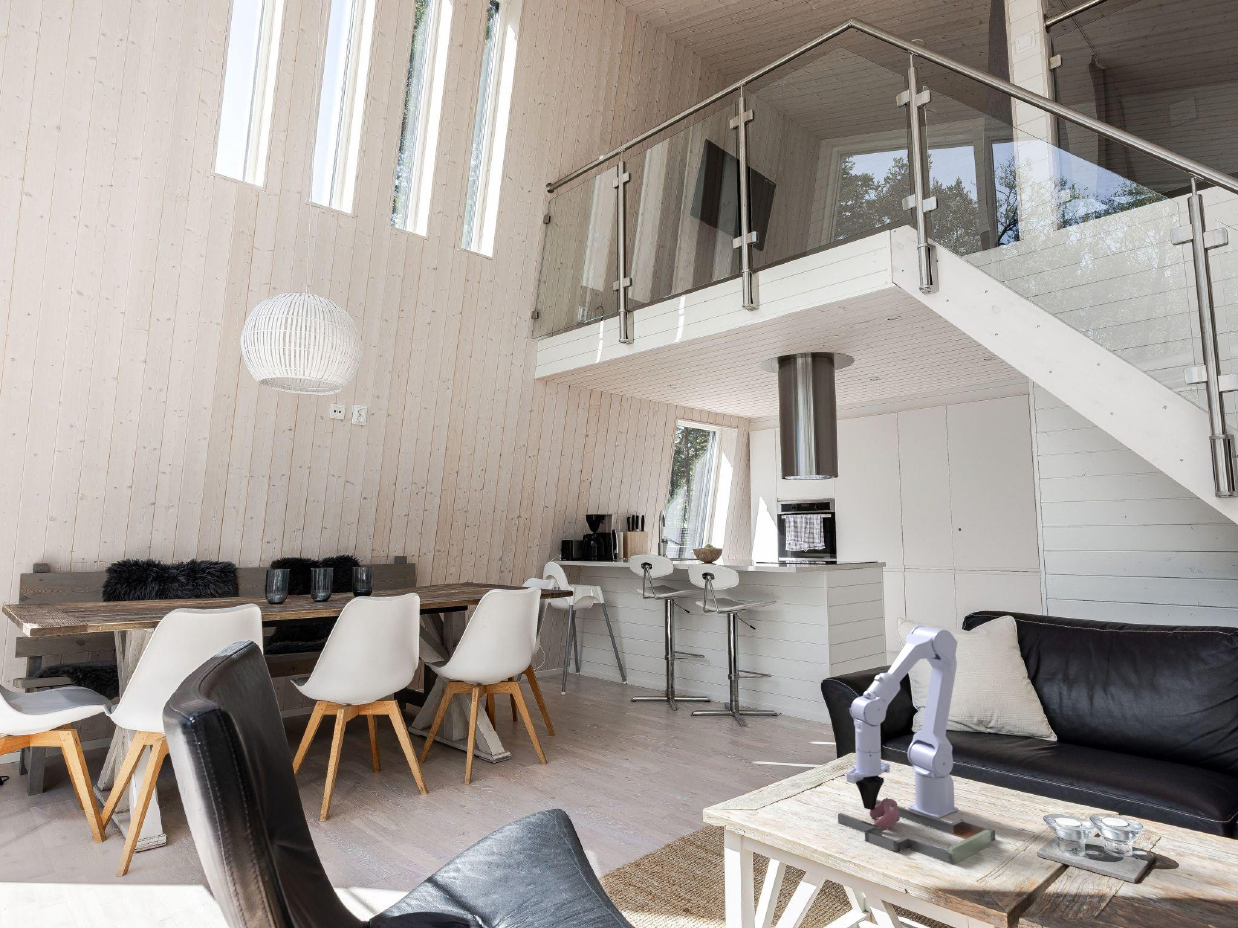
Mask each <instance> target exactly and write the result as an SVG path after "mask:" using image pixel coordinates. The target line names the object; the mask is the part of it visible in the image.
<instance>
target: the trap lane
mask: <svg viewBox="0 0 1238 928" xmlns="http://www.w3.org/2000/svg"><path fill="white" fill-rule="evenodd" d="M881 801H882V800H880V799H877V801H876V805H878V804H879V803H880V802H881ZM876 805H875V806H876ZM898 811H899V816H898V817H900V818H901V817H902V819H904V818H906V819H905V820H908V821H910V820H911V821H912V822H914V821H915V822H914V823H917V824H920V823H921V824H920V825H923V824H924V825H923V826H926V827H929V826H930V827H929V828H932V827H933V829H935V830H938V831H941V830H942V832H944V833H947V832H948V833H947V834H950V833H951V835H953V836H955V837H956V836H957V837H959V838H962V839H963V840H960V841H959V842H957V843H955V844H952V845H950V846H948V847H947V849H945V848H942V847H938V846H936V845H933V844H930V843H927V842H925V841H922V840H919V839H916V838H913V837H910V836H908V835H906V836H903V837H900V838H899V839H893V838H890V837H887V836H885V835H883V831H882V827H879V826H876V825H874V823H871V822H867V821H866V820H865V821H864V820H861V819H859V818H856V817H854V816H850V815H849V814H844V813H842V812H839V813H837V823H838V824H840V825H843V826H846V827H848V826H849V828H851V827H852V828H851V829H854V830H857V831H859V830H860V831H859V832H862V833H864V841H865V842H868V843H870V844H872V843H873V844H872V845H875V844H876V845H875V846H878V847H880V846H882V847H881V848H883V847H885V848H884V849H886V848H887V849H886V850H889V849H890V850H889V851H891V850H894V851H896V852H895V853H897V852H899V853H901V852H902V851H901V850H903V851H905V850H904V849H906V850H907V848H908V849H909V848H910V849H909V850H912V849H913V850H912V851H914V850H916V851H915V852H918V853H920V852H921V854H923V853H924V854H923V855H925V854H926V856H928V855H929V856H928V857H931V856H933V857H932V858H934V859H936V858H937V860H939V859H940V860H939V861H942V862H946V863H948V864H950V863H951V864H950V865H954V864H956V863H958V862H960V861H962V860H965V859H967V858H968V857H970V856H973V855H974V854H976V853H979V852H981V851H983V850H984V849H986V848H989V847H991V846H992V842H993V841H995V840H996V830H995V829H994V828H990V827H987V826H984V825H980V824H977V823H973V822H970V821H968V820H964V819H962V818H959V819H957V820H955V821H953V822H949V821H946V820H942V819H940V818H935V817H932V816H929V815H926V814H923V813H920V812H917V811H913V810H910V809H907V808H905V807H902V806H899V805H898ZM894 851H893V852H894ZM900 851H901V852H900Z"/></svg>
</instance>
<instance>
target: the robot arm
mask: <svg viewBox="0 0 1238 928" xmlns="http://www.w3.org/2000/svg"><path fill="white" fill-rule="evenodd" d="M905 639H906V640H905V641H906V643H905V645H904V646H903V648H902V649H901V651H900V653H899V654H898V655H897V657H896V658H895V660H894V662H893V663H892V664H891V666H890V668H889V669H888V671H887V672H880V673H879V674H877V675H875V677H874V680H873V682H872V683H870V685H869V687H868V688H867V689H866V691H864V692H863V695H862V696H858V697H856V698H855V699H854V700H853V701H852V703H851V707H849V713H850V716H851V717H852V720H853V726H854V729H855V730H854V731H855V737H854V738H855V764H852V769H851V770H850V771H848V772H847V773H846V782H847V783H850V784H855V785H856V787H857V789H858V790H859V793H860V797H861V800H862V801H861V802H862V805H863V808H864V809H866V810H869V811H870V810H873V809H875V805H876V801H877V800H878V796H879V794H880V790H881V788H882V786H883V784H884V783H885V778H883V777H881V775H882V774H884V773H886V774H889V773H890V772H891V771H890V767H891V766H890V763H887V762H882V751H881V750H882V747H881V746H882V745H881V743H882V741H881V724H882V723H883V722H884V721H885V719H886V716H887V710H888V706H889V705H890V703H891V702H892V700H894V698H895V697H896V696H897V694H898V693H899V691H900V690H901V684H900V683H901V681H902V680H903V678H905V676H906V675H907V674H908V673H909V672H910V671H911V670H912V669H913V667H915V665H916V664H917V663H918V662H919V661H920V660H925V659H926V660H927V662H928V663H929V665H930V666H931V671H930V678H929V683H928V684H929V685H928V688H927V689H928V690H927V694H926V695H927V696H926V701H925V708H924V712H923V713H924V714H923V719H922V725H921V729H920V730H919V731H916V733H914V735H913V737H912V740H911V743H910V745H909V746H908V749H907V759H908V761H909V763H910V764H911V765H912V769H913V771H914V787H915V788H914V789H915V790H914V791H915V792H914V793H915V795H914V796H915V803H914V804H912V805H909V806H907V807H908V809H909V810H912V811H915V812H918V813H921V814H924V815H927V816H930V817H934V818H937V819H940V818H942V817H945V816H947V815H949V814H951V813H954V812H956V811H958V810H959V808H958V807H956V806H955V788H954V787H955V785H954V780H953V777H952V776H951V774H950V773H951V772H952V771H953V767H954V759H953V746H952V744H951V742H950V741H949V739H948V738H947V735H946V734H947V733H946V732H947V727H948V722H949V716H950V710H951V709H950V708H951V703H952V697H953V691H954V685H955V680H956V679H955V677H956V673H957V662H958V661H957V655H956V654H957V648H958V647H957V646H958V640H957V639H956V638H955V636H954V635H953V633H951V631H950V630H947V629H939V628H934V627H926V626H924V625H916V626H914V627H913V628H912V629H911V631H910V633H908V634H907V636H906V638H905Z"/></svg>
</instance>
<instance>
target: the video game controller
mask: <svg viewBox="0 0 1238 928" xmlns="http://www.w3.org/2000/svg"><path fill="white" fill-rule="evenodd" d="M880 801H881V802H880V803H879V804H878V805H876V806H875V809H873V810H869V816H870V818H872V819H877V820H875V822H874V823H873V825H876V826H879V827H882V832H885V831H887V830H889V829H890V828H891V827H892V826H894V825H895V824H896V823H898V822H900V819H901V817H898V816H899V811H898V806H899V805H898V802H897V801H896V800H894V799H892V798H888V797H887V796H886V797H885V798H884V799H882V800H880Z"/></svg>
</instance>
